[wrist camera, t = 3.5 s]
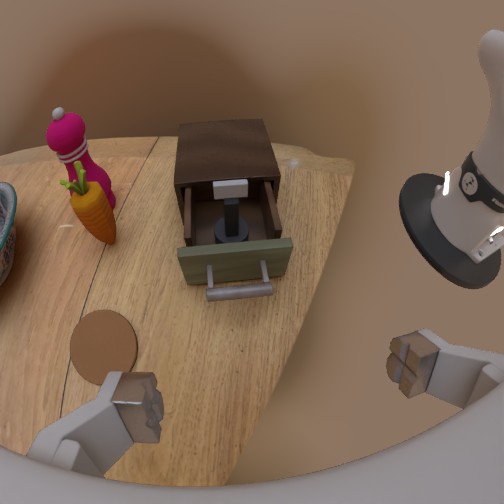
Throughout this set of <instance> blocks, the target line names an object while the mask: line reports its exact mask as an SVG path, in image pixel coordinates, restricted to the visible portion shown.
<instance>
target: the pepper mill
mask: <svg viewBox="0 0 504 504" xmlns="http://www.w3.org/2000/svg"><path fill="white" fill-rule="evenodd" d="M52 116H53V118H54V119H55V120H53V121H52V123H51V124H50V125H49V127H48V129H47V133H46V140H47V143H48V146H49V147H50V149H52V150H53V151H56V152H57V153H56V154H57V157H58V158H59V161H60V162H61V163H64V164H65V166H66V168H67V171H68V175H69V182H70V183H73V180H76V181H77V182H78V183H79V179H78V174H77V172H76V169H75V166H74V162H76V161H81V164H82V167H83V169H84V170H85V171H86V182H98V183H99V184H100V186H101V187H102V189H103V191H104V192H105V194H106V197H107V199H108V201H109V204H110V206H111V209H113V208H114V205H115V197H114V194H113V192H112V190H111V180H110V178H109V176H108V174H107V173H106V172H105V171H104V170H103V169H102V168H101V167H99V166H98V165H97V164H95V163H94V162H93V160H92V159H91V157H90V155H89V153H88V150H87V149H88V142H87V139H86V137H85V136H84V133H85V124H84V121H83V119H82V118H81V117H80V116H79V115H77V114H75V113H66V114H64V110H63V109H62V108H56V109H55V110H54V111H53V114H52ZM73 184H74V183H73ZM74 185H75V184H74ZM79 185H80V183H79ZM73 193H74V191H72V190H70V195H71V196H72V194H73Z"/></svg>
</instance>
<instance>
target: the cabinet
mask: <svg viewBox="0 0 504 504" xmlns="http://www.w3.org/2000/svg"><path fill="white" fill-rule="evenodd" d="M280 178H281V174H280V171H279V168H278V165H277V162H276V159H275V155H274V152H273V149H272V146H271V143H270V140H269V137H268V134H267V131H266V128H265V125H264V122H263V120H262V119H239V120H221V121H208V122H197V123H189V124H180V127H179V135H178V144H177V153H176V163H175V174H174V188H175V192H176V196H177V201H178V205H179V209H180V214H181V218H182V222H183V225H184V209H185V187H191V186H201V185H212V184H213V182H215V181H227V180H241V179H247V181H248V182H252V181H270V183H271V187H272V191H273V195H274V199H275V203H277V197H278V191H279V185H280Z"/></svg>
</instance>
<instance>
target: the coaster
mask: <svg viewBox="0 0 504 504" xmlns="http://www.w3.org/2000/svg"><path fill="white" fill-rule="evenodd" d="M137 351H138V344H137V338H136V334H135V332H134V330H133V328H132V326H131V324H130V323H129V322H128V321H127V320H126V319H125V318H124V317H123V316H122V315H120V314H118V313H116V312H114V311H111V310H98V311H94V312H91V313H89V314H88V315H86V316H85V317H83V318H82V319H81V320H80V321H79V323H78V324H77V325H76V327H75V329H74V331H73V333H72V336H71V341H70V355H71V359H72V362H73V365H74V367H75V369H76V370H77V372H78V373H79V374H80V375H81V376H82V377H83V378H84V379H86V380H87V381H89V382H91V383H94V384H97V385H102V384H103V382H104V380H105V378H106V376H107V374H108V373H109V372H111V371H123V372H130V371H131V369H132V368H133V366H134V364H135V361H136V358H137Z"/></svg>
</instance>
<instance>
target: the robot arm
mask: <svg viewBox="0 0 504 504" xmlns="http://www.w3.org/2000/svg"><path fill="white" fill-rule="evenodd" d="M478 57H479V62H480V65H481V68H482V69H483V72H484V74H485V75H486V79H487V81H488V85H489V89H490V98H491V107H490V115H489V119H488V122H487V125H486V128H485V130H484V132H483V134H482V136H481V138H480V140H479V142H478V144H477V146H476V148H475V150H474V151H472V152H470V154H469V155H468V156H467V157H466V159H465V160H464V163H463V164H462V167H457V168H456V169H455V170H454V171H453V172H452V174H451V175H450V176H449V172H447V173H446V177H445V182H444V184H443V185H442V186H441V185H437V187H436V188H435V196H434V198H433V199H432V201H431V213H432V216H433V219H434V221H435V223H436V225H437V227H438V228H439V230H440V231H441V233H442V234H443V235H444V236H445V238H446V239H447V240H448V241H449V242H450V243H451V244H453V245H454V246H455V247H456V248H458V249H459V250H461V251H463V252H464V253H466V254H467V255H468V256H469V257H470V258H471V259H472V260H473V261H474V262H475V263H477V264H478V263H480V262H482V261H483V260H484V259H486V258H487V257H489V256H490V255H492V254H493V253H494V252H496V251H497V250H499V249H500V248H501V247H502V246H503V245H504V238H503V234H502V233H503V231H504V32H501V31H499V30H496V29H493V30H490V31H488V32H486V33H485V34H484V35H483V36H482V38H481V40H480V42H479V46H478ZM448 176H449V177H448ZM390 350H391V352H392V353H391V354H390V356H389V357H388V358H387V364H386V369H387V374H388V376H389V378H390V379H391V380H392V381H393V382H396V383H399V389H400V390H401V391H402V393H403V394H404V395H405V396H406V397H407V398H411V397H413V396H416V395H418V394H421V393H423V392H426V393H428V394H430V395H433V396H435V397H437V398H439V399H441V400H444V401H446V402H448V403H451V404H453V405H455V406H458V407H460V408H463V410H462V411H460V412H458V413H456V414H455V415H453V416H451V417H450V418H448V419H446V420H445V421H443V422H441V423H439V424H438V425H436V426H434V427H432V428H430V429H428V430H426V431H424V432H422V433H420V434H418V435H416V436H414V437H412V438H410V439H408V440H406V441H403V442H401V443H399V444H397V445H395V446H392V447H390V448H387V449H385V450H382V451H380V452H377V453H375V454H372V455H369V456H366V457H364V458H360V459H358V460H355V461H351V462H348V463H346V464H342V465H338V466H335V467H332V468H328V469H324V470H320V471H316V472H312V473H308V474H303V475H299V476H294V477H289V478H283V479H277V480H271V481H265V482H257V483H248V484H238V485H225V486H199V487H188V486H161V485H148V484H139V483H130V482H123V481H117V480H111V479H106V478H105V477H104V476H103V475H104V474H105V473H106V472H107V471H108V470H109V469H110V468H111V467H112V466H113V465H114V464H115V463H116V462H117V461H118V460H119V459H120V458H121V457H122V456H123V455H124V454H125V452H126V451H127V450H128V449H129V448H130V447H131V446H132V445H133V444H134V442H138V443H159V440H160V434H161V426H160V424H159V422H160V421H161V420H162V419H163V415H164V404H163V398H162V395H161V392H159V391H158V390H157V389H156V387H157V379H156V377H155V374H154V373H153V372H123V371H111V372H109V373H108V374H107V376H106V378H105V380H104V382H103V384H102V386H101V388H100V390H99V392H98V394H97V396H96V398H95V401H91V400H90V401H89V402H87V403H86V404H84V405H82V406H81V407H79V408H77V409H76V410H74V411H72V412H71V413H69V414H67V415H66V416H64V417H62V418H61V419H59V420H57V421H56V422H54V423H52V424H51V425H49V426H47V427H45V428H44V429H42V430H40V431H39V433H38V434H37V436H36V438H35V440H34V442H33V443H32V445H31V447H30V449H29V451H28V453H27V455H26V456H24V455H22V454H19V453H17V452H15V451H12V450H10V449H8V448H5V447H3V446H1V445H0V504H504V355H502V354H498V353H494V352H488V351H483V350H478V349H473V348H468V347H463V346H458V345H450V344H448V343H447V342H445V341H444V340H443V339H441V338H440V337H438V336H437V335H436V334H434V333H433V332H432V331H430V330H429V329H426V328H423V329H420V330H417V331H414V332H412V333H410V334H406V335H403V336H399V337H396V338H393V339H392V341H391V343H390Z"/></svg>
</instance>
